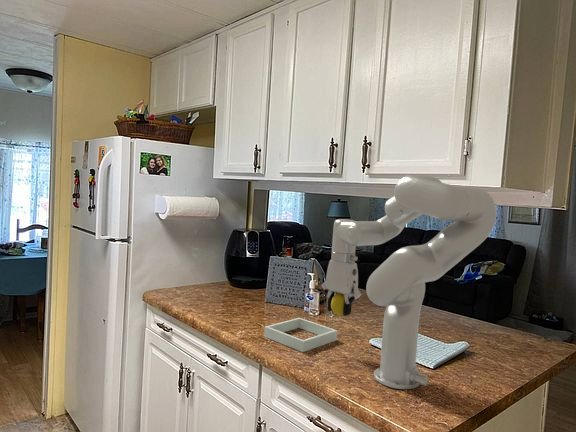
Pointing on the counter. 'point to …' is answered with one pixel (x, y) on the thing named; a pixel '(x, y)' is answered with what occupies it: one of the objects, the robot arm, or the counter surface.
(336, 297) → the lemon
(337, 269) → the robot arm
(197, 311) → the counter surface
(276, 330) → the pale green square frame
